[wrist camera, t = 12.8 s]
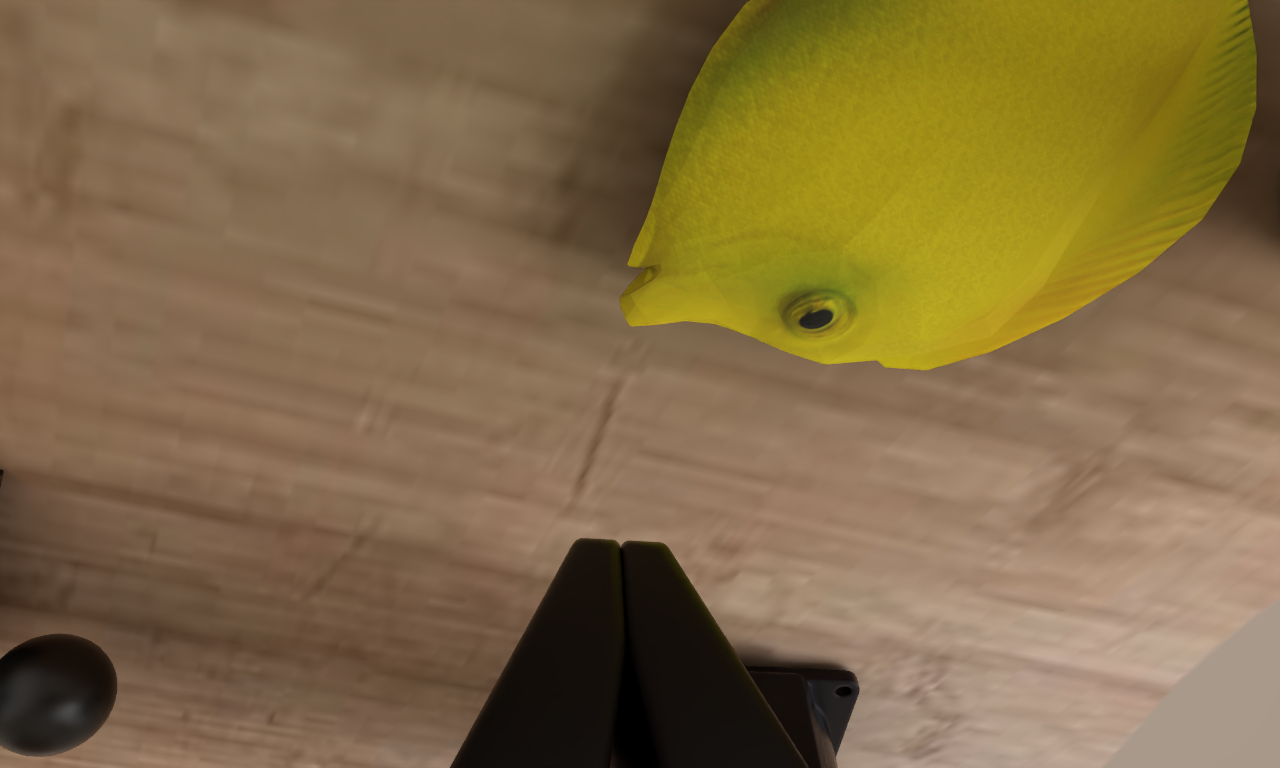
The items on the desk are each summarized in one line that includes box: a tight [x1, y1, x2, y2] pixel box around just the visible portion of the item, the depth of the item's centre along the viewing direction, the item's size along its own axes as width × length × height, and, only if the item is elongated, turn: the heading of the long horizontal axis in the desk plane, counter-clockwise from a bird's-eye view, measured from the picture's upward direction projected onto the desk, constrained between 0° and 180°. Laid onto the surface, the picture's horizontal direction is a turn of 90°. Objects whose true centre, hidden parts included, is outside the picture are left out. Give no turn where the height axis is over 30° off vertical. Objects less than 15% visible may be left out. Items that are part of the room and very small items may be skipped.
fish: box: [619, 0, 1257, 370], centre depth 19 cm, size 3×16×10 cm
